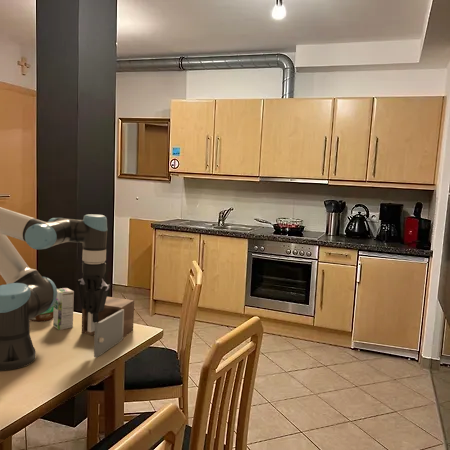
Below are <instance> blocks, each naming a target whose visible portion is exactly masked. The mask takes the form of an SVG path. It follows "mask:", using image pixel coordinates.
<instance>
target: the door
mask: <svg viewBox="0 0 450 450" xmlns="http://www.w3.org/2000/svg"><path fill="white" fill-rule="evenodd" d="M123 329H124V309H121V310H120V311H118V312H116V313H114V314H112V315H111V316H109V317H107V318H105V319H103V320H101V321H100V322H98V323H96V324H95V335H94V337H93V338H94V339H93V340H94V343H93V344H94V345H93V351H94V353H93V356H94V358H98V357H99V356H101V355H103V354H104V353H106V352H107V351H108V350H110V349H111V348H112V347H114V346H116V345H117V344H119V343H120V342H122V340H123V341H124V338H123Z"/></svg>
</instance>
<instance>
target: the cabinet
mask: <svg viewBox="0 0 450 450" xmlns="http://www.w3.org/2000/svg"><path fill="white" fill-rule="evenodd" d="M85 305H86V304H85ZM121 309H124V329H123V339H124V338H125V337H127V336H128V335H129V334H131V333H133V331H134V319H135V318H134V317H135V316H134V315H135V313H134V312H135V300H134V299H133V300H132V299H128V298H127V299H126V298H118V297H114V296H107V298H106V302H105V306H104V310H103V311H101V312H99V313H98V322H100V321H101V320H103V319H105V318H107V317H109V316H111V315H112V314H114V313H116V312H118V311H120V310H121ZM98 322H97V323H98ZM81 334H83V335H84V334H85V335H91V336H95V331H93V332H88V321H87V311H86V310H85V309H83V308H82V307H81Z"/></svg>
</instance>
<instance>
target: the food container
mask: <svg viewBox="0 0 450 450" xmlns="http://www.w3.org/2000/svg"><path fill="white" fill-rule="evenodd" d="M53 312H54V305H53V306H52V307H51V308H49V309H48V310H47V311H46V312H44V313H41V314H39V315H37V316H36V317H34V318H32V319H30V322H33V323H43V322H49V321H51V320H53Z"/></svg>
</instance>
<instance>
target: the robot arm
mask: <svg viewBox="0 0 450 450" xmlns="http://www.w3.org/2000/svg"><path fill="white" fill-rule="evenodd" d="M107 218H108V217H107V216H105V215H103V214H92V213H91V214H89V213H88V214H85V215H83V219H74V218H64V217H52V218H50V219H48V221H44V220H40V219H38V218H35V217H32V216H29V215H26V214H23V213H20V212H17V211H13V210H11V209H8V208H4V207H1V206H0V277H1V278H2V279H3V280H4V281H5V283H6V284H1V285H0V371H11V370H16V369H20V368H23V367H27V366H28V365H31V364H32V363H33V362H34V361H35V360H36V355H37V354H36V348H35V347H34V343H33V341H32V337H31V334H30V332H31V331H30V329H31V328H30V327H31V324H30V323H31V321H30V319H32V318H34V317H36V316H37V315H39V314H41V313H44V312H46V311H47V310H48V309H49V308H51V307H52V306H53V305H54V303H55V301H56V298H57V289H58V288H57V286H56V284H55V282H54V281H53V280H52V279H50V278H49V277H46V276H42V275H41V274H40V272H39V271H38V270H37V269H34V268H31V267H30V266H29V265H28V264H27V262H26V261H25V259H24V258H23V256H22V255H21V254H20V253H19V251H18V250H17V248H16V247H15V245H14V244H13V243H12V241H11V240H10V239H9V237H11V238H13V239H17V240H20V241H22V242H25V243H26V244H27V245H28V246H29V247H30V248H31V249H33V250H46V249H49V248H52V247H54V246H57V245H60V244H65V243H78V244H79V243H80V244H82V255H81V257H82V259H81V260H82V263H81V264H82V265H81V273H82V278H80V279H77V280H76V282H77V285H78V289H79V295H80V303H81V309H82V308H83V309H85V310H86V311H87V321H88V332H93V331H95V324H96V323H97V322H98V313H99V312H101V311H103V310H104V306H105V302H106V298H107V297H108V295H109V294H108V293H109V290H110V289H111V284H107V283H106V279H105V274H106V272H107V263H106V261H107V244H108V243H107V241H108V240H107V238H108V231H109V230H108V219H107ZM85 304H86V305H85Z"/></svg>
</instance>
